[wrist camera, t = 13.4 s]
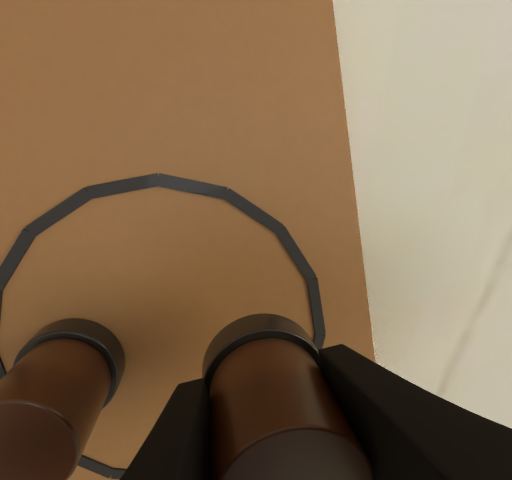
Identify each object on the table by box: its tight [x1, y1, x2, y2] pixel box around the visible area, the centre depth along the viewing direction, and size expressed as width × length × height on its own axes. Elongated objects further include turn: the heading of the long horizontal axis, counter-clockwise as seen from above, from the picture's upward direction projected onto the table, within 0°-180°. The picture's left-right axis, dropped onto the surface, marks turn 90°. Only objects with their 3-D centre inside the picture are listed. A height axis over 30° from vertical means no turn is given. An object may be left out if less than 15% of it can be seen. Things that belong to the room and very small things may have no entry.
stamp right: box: [202, 313, 374, 480], centre depth 8 cm, size 3×3×4 cm
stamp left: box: [0, 318, 125, 480], centre depth 10 cm, size 3×3×4 cm
